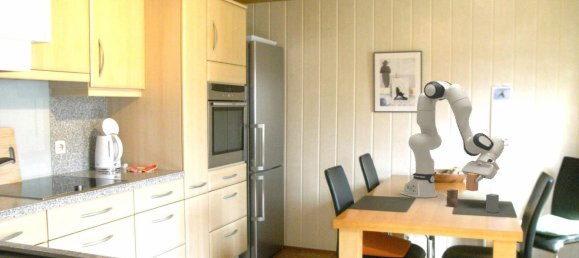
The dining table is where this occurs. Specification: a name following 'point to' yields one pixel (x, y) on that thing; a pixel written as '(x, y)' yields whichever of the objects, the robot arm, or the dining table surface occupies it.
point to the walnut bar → (452, 198)
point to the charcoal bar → (492, 203)
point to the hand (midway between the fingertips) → (471, 181)
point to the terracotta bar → (471, 182)
